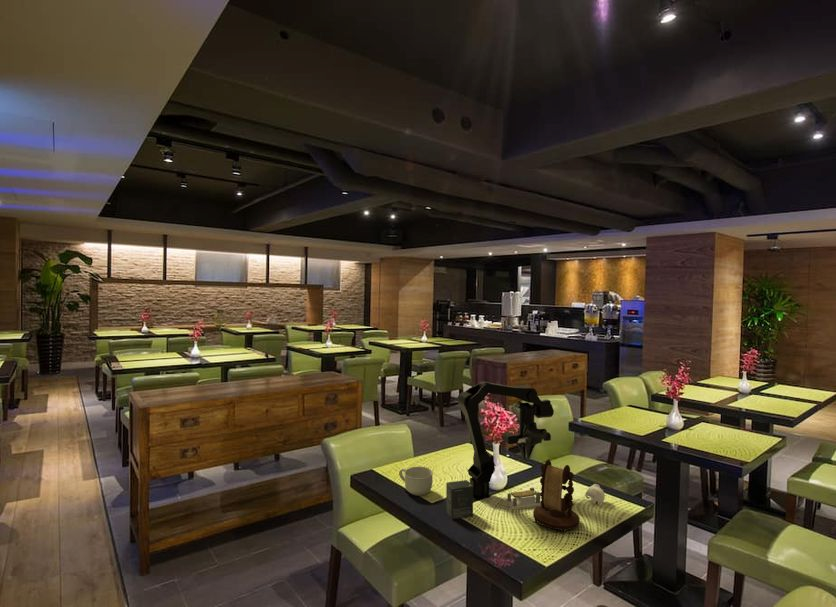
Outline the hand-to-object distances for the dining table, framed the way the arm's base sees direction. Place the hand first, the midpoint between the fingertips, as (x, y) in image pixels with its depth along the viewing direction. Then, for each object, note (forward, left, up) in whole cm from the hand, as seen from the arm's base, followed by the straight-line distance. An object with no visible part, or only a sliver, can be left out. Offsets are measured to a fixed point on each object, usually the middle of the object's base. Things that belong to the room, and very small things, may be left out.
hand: (526, 458), depth 174 cm
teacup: (-42, +10, -12) cm, 45 cm away
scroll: (-4, -26, -12) cm, 29 cm away
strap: (-7, -11, -9) cm, 15 cm away
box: (-33, -12, -12) cm, 37 cm away
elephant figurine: (+19, -17, -12) cm, 28 cm away
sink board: (-7, -10, -12) cm, 17 cm away
